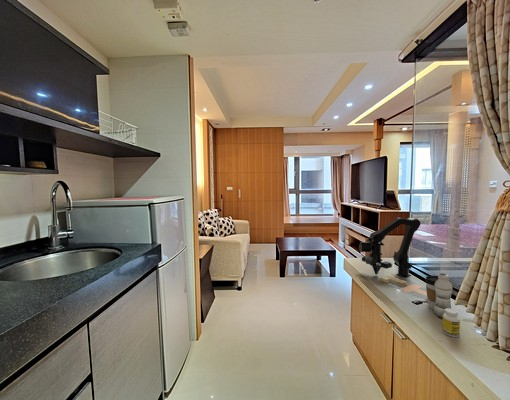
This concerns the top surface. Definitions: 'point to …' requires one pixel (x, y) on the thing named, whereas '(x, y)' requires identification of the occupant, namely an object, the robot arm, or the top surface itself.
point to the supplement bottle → (451, 322)
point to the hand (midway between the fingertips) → (376, 274)
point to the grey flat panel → (410, 289)
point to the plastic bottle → (442, 294)
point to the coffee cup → (431, 290)
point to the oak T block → (393, 280)
